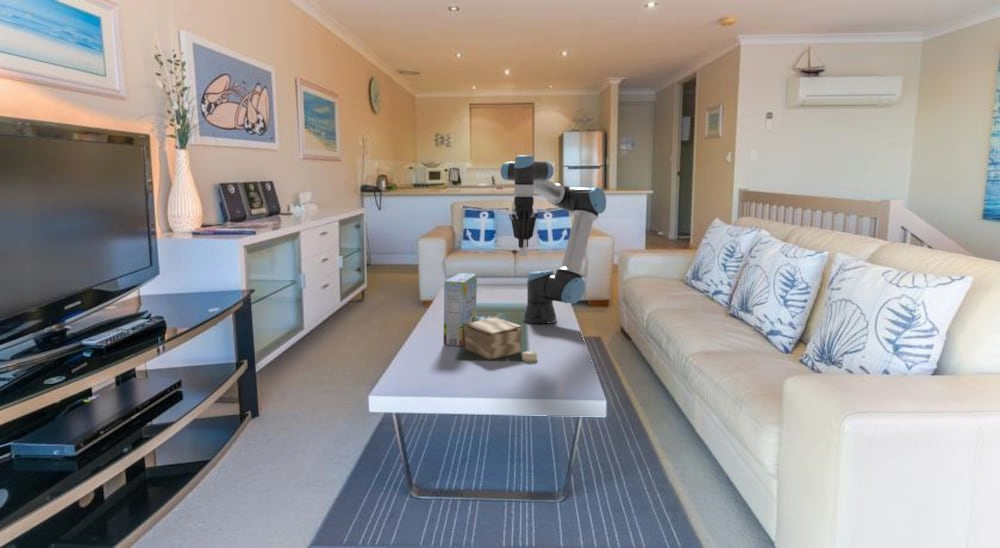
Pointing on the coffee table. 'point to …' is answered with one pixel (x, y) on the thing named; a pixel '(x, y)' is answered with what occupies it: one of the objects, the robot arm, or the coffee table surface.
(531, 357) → the cream domed disc
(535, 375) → the coffee table surface
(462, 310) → the snack box
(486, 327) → the lid
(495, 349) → the tan open box
